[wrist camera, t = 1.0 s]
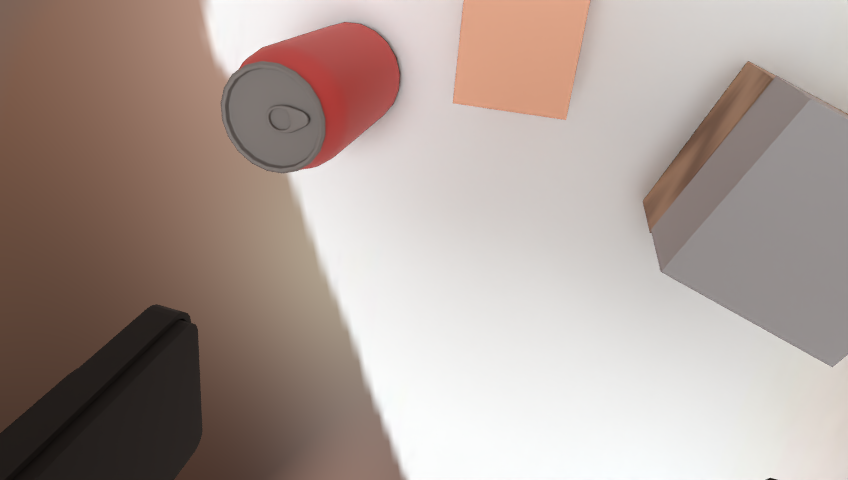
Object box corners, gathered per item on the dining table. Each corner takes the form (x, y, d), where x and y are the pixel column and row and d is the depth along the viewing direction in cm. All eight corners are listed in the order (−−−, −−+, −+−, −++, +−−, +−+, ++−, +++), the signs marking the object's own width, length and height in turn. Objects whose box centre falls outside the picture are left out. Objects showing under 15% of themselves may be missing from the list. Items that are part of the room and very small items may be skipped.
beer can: (406, 121, 39) (342, 184, 29) (317, 122, 41) (227, 182, 30) (397, 18, 36) (322, 47, 26) (302, 23, 38) (195, 53, 28)
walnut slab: (747, 60, 33) (771, 77, 29) (901, 142, 33) (950, 172, 28) (642, 199, 38) (649, 232, 34) (776, 271, 38) (801, 313, 34)
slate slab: (776, 75, 28) (810, 98, 24) (952, 173, 28) (1018, 214, 24) (650, 229, 33) (660, 271, 29) (800, 312, 34) (832, 367, 29)
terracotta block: (590, -15, 33) (591, -6, 27) (569, 90, 36) (566, 119, 30) (487, -26, 34) (465, -19, 28) (474, 77, 37) (452, 103, 31)
